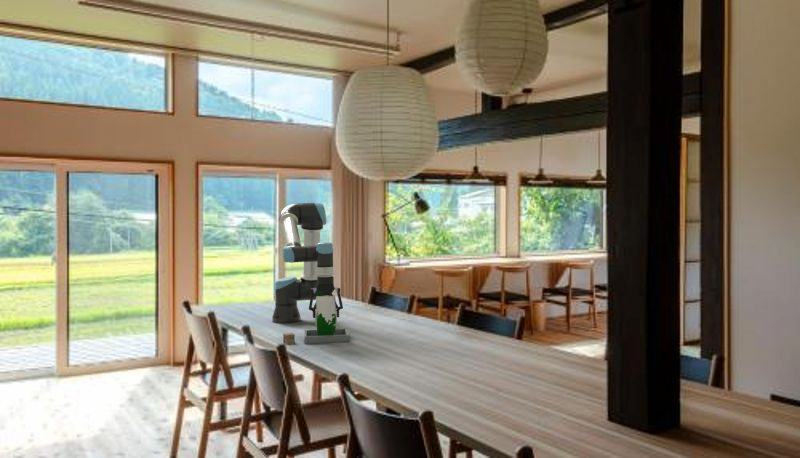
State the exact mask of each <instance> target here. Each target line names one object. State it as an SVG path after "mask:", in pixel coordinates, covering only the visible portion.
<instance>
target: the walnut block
mask: <svg viewBox="0 0 800 458" xmlns="http://www.w3.org/2000/svg"><path fill="white" fill-rule="evenodd" d="M282 336H283V337H282V339H283V340H282V341H283V343H284V344H286V345H288V344H290V343H291V344H296V342H295V341H296V339H295V337H296V336H295V333H293V332H289V333H283V334H282Z"/></svg>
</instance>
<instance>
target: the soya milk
mask: <svg viewBox="0 0 800 458" xmlns="http://www.w3.org/2000/svg"><path fill="white" fill-rule="evenodd" d="M319 295H320V296H319ZM324 295H325V294H324V292H323V295H322V293H321V292H318V291H317V296H316V300H315V303H316V310H315V311H316V316H317V326H316V330H317V334H318V335H333V334H334V333H335V329H337V328H336V326H337V325H336V305H335V301H336V300H337V299H336V294H335V293H334V294H333V293H332V295H333V296H328V295H326V296H324ZM336 302H337V301H336Z"/></svg>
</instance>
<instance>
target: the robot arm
mask: <svg viewBox="0 0 800 458" xmlns="http://www.w3.org/2000/svg"><path fill="white" fill-rule="evenodd" d="M278 223H279V226H280V227H281V229H282V234H283V235H282V236H283V240H284V247H282V261H283V262H284V263H291V264H294V263H303V273H302V274H301V275H300V278H299V279H298V278H297V276H288V277H287V276H286V277H282V278H278V279H276V281H275V283H274V295H275V296H274V299H275V300H274V301H275V303H274V305H275V306H274V311H273V314H272V317H271V318H272V321H271V322H273V323H276V324H290V323H297V322H300V321H301V319H302V318H301V314H300V310H299V307H298V301H309V305H308V310H309V311H312V318H313V319H315V326H316V327H317V316H316V302H315V303H314V305H313V302H314V301H316V296H317V291H318V292H321V293H322V295H323V292H324V294H325V295H324V296H326V295H328V296H333V295H332V294H333V292H334V291H335V292H336V294H337V299H338V302H339V305H338V304H337V301H335V305H336V326H337V325H338V318H340V311H341V310H342V309H344V306H343V302H342V301H343V300H342V295H341V287H340V286H339V287H336V286H335V285H334V284H335V283H334V280H335V279H334V245H333V243H332V242H328V241H327V242H323V241H322V242H321V231H322V230H324V226H325V225H327V214H326V210H325V206H324V204H323V203H320V202H299V203H298V202H294V203H289V204H288V205H287V206H285V207H284V208H283V209H282V210H281V211H280V213H279V217H278ZM298 226H300V228H301V230H302V231H303V246H302V242H301V238H300V237H301V236H300V233H299V227H298ZM319 296H320V295H319Z"/></svg>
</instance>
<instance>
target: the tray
mask: <svg viewBox="0 0 800 458" xmlns="http://www.w3.org/2000/svg"><path fill="white" fill-rule="evenodd" d="M303 337H304V344H306V345H308V344H311V345H312V344H329V343H330V344H331V343H332V344H333V343H349V342H350V334H349V331H348V328H335V333H334V334H333V335H318V334H317V329H304V336H303Z"/></svg>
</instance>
